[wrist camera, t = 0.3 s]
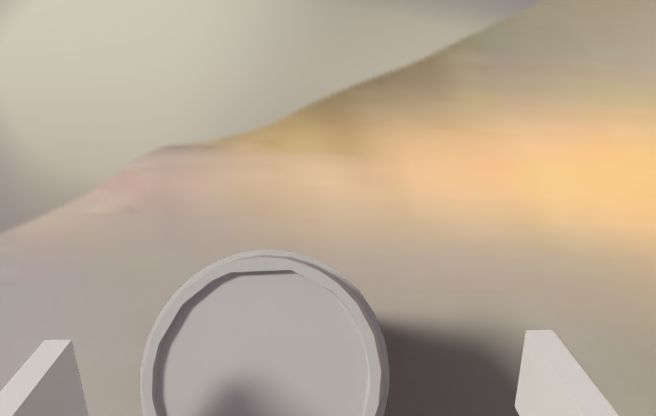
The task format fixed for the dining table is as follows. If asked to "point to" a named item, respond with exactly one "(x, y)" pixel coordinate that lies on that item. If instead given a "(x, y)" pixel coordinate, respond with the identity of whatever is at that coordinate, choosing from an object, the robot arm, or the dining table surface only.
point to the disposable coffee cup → (265, 343)
